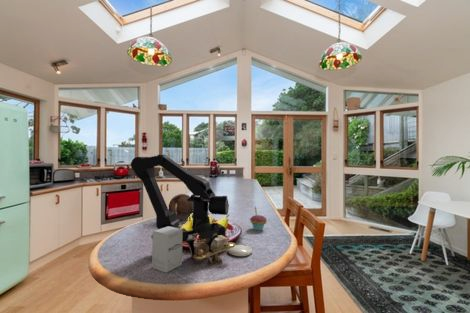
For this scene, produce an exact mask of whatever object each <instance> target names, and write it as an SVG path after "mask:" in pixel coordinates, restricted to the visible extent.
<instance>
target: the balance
mask: <svg viewBox="0 0 470 313" xmlns="http://www.w3.org/2000/svg"><path fill="white" fill-rule="evenodd" d="M235 245H236V243H235V242H230V241H228V242H226V243H224V244H223V246H224V247H222V248H220V249H217V250H214V251H212V250H211V251H209V253H206V254H205V253H204V250H202V249H199V250H197V253H196V254H194V258H195V259H200V260H201V259H204V258H206V257H210V258H209V259H207V263H208V264H209V265H210V266H213V265H218V264H222V263H223V259H222V258H221V257H220V256H219V254H220V253H223V252H222V251H224V252H226V251H225V250H227V249H230V248H233V247H235ZM227 251H228V250H227ZM219 252H220V253H219ZM201 261H202V260H201Z"/></svg>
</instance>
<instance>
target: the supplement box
mask: <svg viewBox="0 0 470 313" xmlns="http://www.w3.org/2000/svg"><path fill="white" fill-rule="evenodd" d="M152 235H153V237H151V241H152V244H151V247H152V248H151V250H152V251H151V268H152V269H155V270H156V271H157V270H158V271H160V272H163V273H168V272H170V271H172V270H175V269H177V268H178V267H181V266H183V241H182V236H183V228H180V227H178V228H174V227H170V226H168V227H165V228H161V229H158V230H157V229H155V230H152Z"/></svg>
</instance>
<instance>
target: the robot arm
mask: <svg viewBox="0 0 470 313" xmlns="http://www.w3.org/2000/svg"><path fill="white" fill-rule="evenodd" d="M130 167H131V169H132V171H133V173H134V174H135V175H136V177H138V178H139V179H140V180H141V182H142V184H143V186H144V188H145V191H146V193H147V196H148V199H149V201H150V204H151V205H152V208H153V210H154V213H155V217H156V218H155V225H156V230H158V229H161V228H165V227H168V226H170V227H174V228H180V224H179V223H180V220H179V219H178V218H177V215H176V212H173V213H171V212H170V211H169V207H168V206H167V203H166V201H165V198H164V196H163V193H162V191H161V188H160V187H159V184H158V181H157V180H156V178H155V172H156V171H155V168H156V167H161V168H163V169H164V170H165V171H167V172H168V173H170V174H171V175H173V176H174V177H176V179H178V180H180V181H181V182H182V183H184V185H185V186H186V188H187V189H188V190H189V191H190V192H191V195H190V198H189V199H187V201H193V214H192V216H191V218H192V225H191V229H192V230H191V229H190V230H187V229H186V228H183V227H182V229H183V236H182V242H183V241H184V242H185V243H186V244H187V246H188V248H189V250H190V253H191V254H192V256H193V257H194V243H195V239H194V236H199V239H200V240H205V241H204V242H205V243H206V244H207V245H209V250H211V249H210V246H211V244H212V242H213V240H214V239H215V238H217V237H218V235H222V236H224V235H226V234H227V232H226V227H225V226H224V225H223V224H220V223H218V222H211V220H210V216H209V213H210V214H211V215H220V216H222V215H224V216H227V215H228V213H229V210H230V204H229V199H228V195H216V194H215V192H214V190H212V188H211V184H210V182H209V180H207V179H206V178H203V177H201V176H199V175H196V174H194V173H191V172H190V171H189V170H188V169H186V168H184V167H183V166H182V165H180V164H178V163H177V162H176V161H174V160H173V159H171V158H170V157H169V156H168V155H167V154H157V155H154V156H153V155H152V156H136V157H134V158H133V159H132V160H131V162H130ZM152 237H153V234H152V235H151V238H152Z"/></svg>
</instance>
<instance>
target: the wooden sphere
mask: <svg viewBox="0 0 470 313" xmlns="http://www.w3.org/2000/svg"><path fill="white" fill-rule="evenodd" d="M190 197H191V195H188V194H185V193H179V194H177V195H174V196H173V197H172V198H171V199H170V201H169V203H168V210H169V211H170V212H171V213H173V212H176V215H177V218H178V219H179V221H186V220H188V219H189V218H190V217H189V216H190V214H191V213H193V201H187V199H189V198H190ZM188 217H189V218H188Z"/></svg>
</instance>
